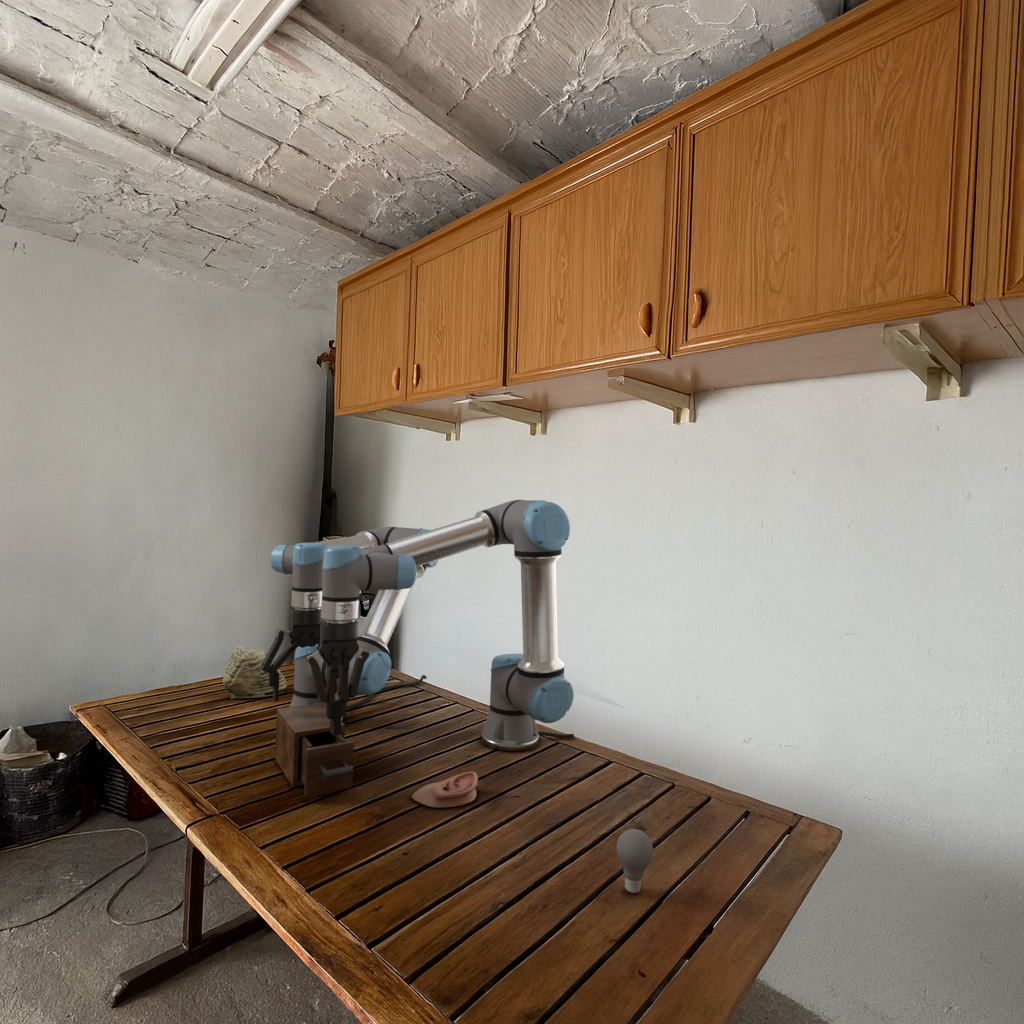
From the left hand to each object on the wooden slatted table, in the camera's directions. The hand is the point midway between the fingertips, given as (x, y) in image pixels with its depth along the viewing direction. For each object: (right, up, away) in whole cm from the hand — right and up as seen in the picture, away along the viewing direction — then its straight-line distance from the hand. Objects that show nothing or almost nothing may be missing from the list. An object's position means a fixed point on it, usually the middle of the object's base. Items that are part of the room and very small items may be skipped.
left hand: (305, 695), depth 152 cm
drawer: (+9, -15, -14) cm, 22 cm away
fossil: (-31, -13, +46) cm, 57 cm away
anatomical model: (+35, -17, -15) cm, 42 cm away
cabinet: (+2, -16, -4) cm, 16 cm away
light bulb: (+70, -19, -46) cm, 86 cm away
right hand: (+13, -2, -20) cm, 24 cm away
